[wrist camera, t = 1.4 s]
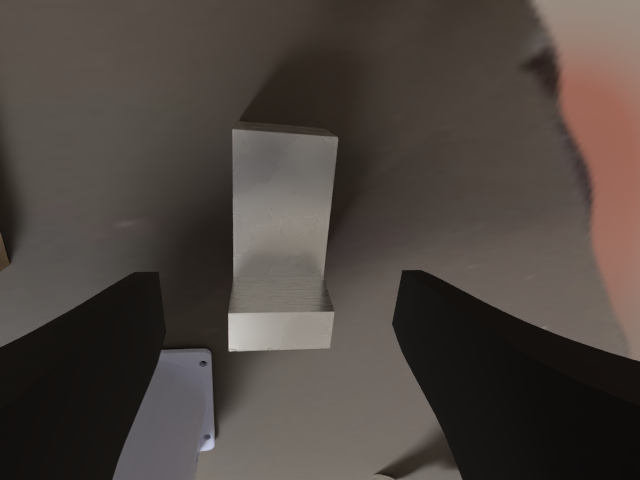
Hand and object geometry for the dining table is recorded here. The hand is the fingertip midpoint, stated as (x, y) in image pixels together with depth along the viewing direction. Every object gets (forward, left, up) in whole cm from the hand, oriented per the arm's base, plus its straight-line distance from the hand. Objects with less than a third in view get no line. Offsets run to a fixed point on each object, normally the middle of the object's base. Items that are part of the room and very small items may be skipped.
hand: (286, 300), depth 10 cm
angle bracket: (0, 0, -10) cm, 11 cm away
